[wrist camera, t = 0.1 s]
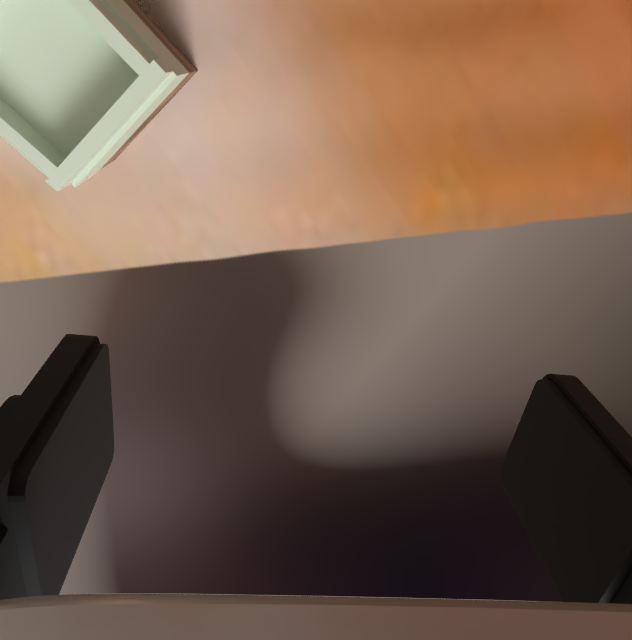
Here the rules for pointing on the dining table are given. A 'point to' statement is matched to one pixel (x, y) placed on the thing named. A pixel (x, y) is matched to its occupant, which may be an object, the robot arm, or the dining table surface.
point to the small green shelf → (78, 82)
